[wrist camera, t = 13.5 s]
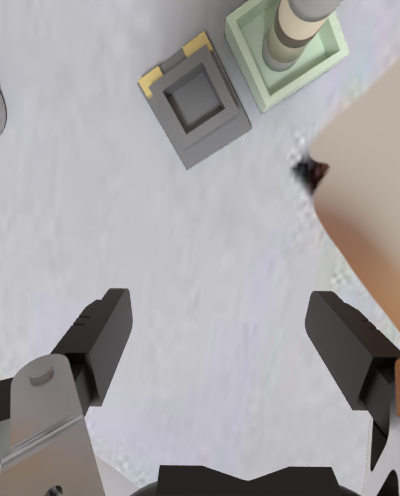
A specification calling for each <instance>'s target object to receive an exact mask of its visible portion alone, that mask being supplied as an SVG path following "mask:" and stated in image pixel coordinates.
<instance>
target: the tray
mask: <svg viewBox="0 0 400 496" xmlns="http://www.w3.org/2000/svg"><path fill="white" fill-rule="evenodd" d="M279 3H280V0H248V1H247V2H245V3H244V4H243V5H241V6H240V7H239V8H237V9H236V10H235V11H234V12H232V13H231V14H230V15H228V16H227V17H226V21H225V32H224V35H225V37H226V39H227V41H228V44H229V46H230V48H231V50H232V52H233V54H234V56H235V59H236V61H237V63H238V65H239V67H240V69H241V71H242V74H243V76H244V78H245V80H246V82H247V84H248V87H249V89H250V91H251V93H252V95H253V97H254V99H255V102H256V104H257V106H258V108H259V110H260V112H261V114H262V113H263V112H265V111H267V110H268V109H270V108H271V107H273V106H274V105H276V104H278V103H279V102H281V101H282V100H284V99H285V98H287V97H288V96H290V95H292V94H293V93H295V92H296V91H298V90H299V89H301V88H302V87H304V86H306V85H307V84H309V83H310V82H312V81H313V80H315V79H316V78H318V77H320V76H321V75H323V74H324V73H326V72H327V71H329V70H331V69H332V68H334V67H335V66H336V65H337V64H339V63H340V62H341V61H342V60H343V59H344V58H345V57H346V56H347V55H348V54H350V52H349V50H348V47H347V44H346V41H345V38H344V35H343V33H342V30H341V27H340V24H339V21H338V18H337V15H336V13H335V10H334V12H333V13H332V14H331V15H329V17H328V18H327V19H326V21H325V22H324V24H323V25H322V27H321V28H320V30H319V31H318V33H317V34H316V35H315V37H314V38H313V39H312V40H311V41H310V42H309V44H308V45H307V46H306V48H305V50H304V52H303V53H302V55H301V56H300V57H299V59H298V60H297V61H296V63H295V64H294V65H293V66H292V67H291V68H290V69H288V70H286V71H283V72H275V71H272V70H271V69H269V68H268V67H267V66H266V64H265V63H264V61H263V57H262V45H263V42H264V39H265V37H266V34H267V32H268V29H269V27H270V26H271V24H272V22H273V19H274V17H275V13H276V10H277V8H278V5H279Z"/></svg>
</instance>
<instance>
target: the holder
mask: <svg viewBox="0 0 400 496" xmlns="http://www.w3.org/2000/svg"><path fill="white" fill-rule="evenodd" d="M137 84H138V86H139V88H140V89H141V91H142V93H143V95H144V96H145V98H146V100H147V102H148V103H149V105H150V107H151V109H152V110H153V112H154V114H155V116H156V117H157V119H158V121H159V123H160V124H161V126H162V128H163V130H164V131H165V133H166V135H167V137H168V138H169V140H170V142H171V144H172V145H173V147H174V149H175V150H176V152H177V154H178V156H179V157H180V159H181V161H182V163H183V164H184V166H185V168H186V170H188V169H190V168H192V167H193V166H195V165H196V164H198V163H199V162H201V161H203V160H204V159H206V158H207V157H209V156H211V155H212V154H214V153H215V152H217V151H218V150H220V149H222V148H223V147H225V146H226V145H228V144H229V143H231V142H233V141H234V140H236V139H237V138H239V137H241V136H242V135H244V134H245V133H247V132H248V131H250V130H251V129H252V127H251V125H250V123H249V121H248V119H247V116H246V114H245V112H244V110H243V108H242V106H241V104H240V102H239V100H238V98H237V96H236V94H235V91H234V89H233V87H232V85H231V83H230V81H229V79H228V77H227V75H226V73H225V71H224V69H223V67H222V64H221V62H220V60H219V58H218V56H217V54H216V52H215V50H214V48H213V46H212V44H211V42H210V40H209V37H208V35H207V33H206V32H204V31H203V32H202V33H201V34H199V35H198V36H197V37H195V38H194V39H193V40H191V41H190V42H189V43H187V44H186V45H185V46H183V47H182V50H180V51H179V52H178V53H177V54H175V55H174V56H173V57H171V58H170V59H169V60H167V61H166V62H165V63H163V64H162V65H161V66H157V67H155V68H154V69H153V70H152V71H150V72H149V73H148V74H146V75H145V76H144V77H142V78H141V79H140V80H138V83H137Z"/></svg>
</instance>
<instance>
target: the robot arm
mask: <svg viewBox="0 0 400 496" xmlns="http://www.w3.org/2000/svg"><path fill="white" fill-rule="evenodd" d="M5 121H6V111H5V105H4V101H3V98H2V96H1V94H0V134H1V132H2V130H3V128H4V125H5ZM132 322H133V318H132V309H131V301H130V293H129V290H128V289H123V288H110V289H109V290H108V291H107V293H106V294H105V295H104V297H103V298H102V300H95V301H94V302H93V303H91V304H90V305H88V306H87V307H86V308H85V309H84V310H83V312H82V313H81V314H80V315H79V318H77V319H76V321H75V322H74V323H73V325H72V326H71V327H70V329H69V330H68V331H67V332H66V334H65V335H64V336H63V338H62V339H61V340H60V342H59V343H58V344H57V346H56V347H55V348H54V349H53V351H52V352H51V353H50V354H49V355H45V356H42V357H39V358H37V359H35V360H33V361H31V362H29V363H28V364H26V365H25V366H24V367H23V368H21V369H20V370H19V371H18V373H17V374H16V375H15V376H14V377H13V378H9V379H5V380H1V381H0V465H1V467H0V496H105V493H104V490H103V486H102V482H101V478H100V475H99V471H98V467H97V464H96V460H95V456H94V452H93V449H92V445H91V441H90V438H89V434H88V430H87V427H86V423H85V419H84V417H85V415H86V413H87V411H88V408H89V406H102V403H103V401H104V398H105V396H106V393H107V391H108V388H109V386H110V383H111V381H112V378H113V375H114V373H115V370H116V368H117V365H118V363H119V360H120V358H121V355H122V353H123V350H124V348H125V345H126V343H127V340H128V338H129V335H130V333H131V329H132ZM305 328H306V332H307V334H308V336H309V338H310V340H311V341H312V343H313V345H314V346H315V348H316V350H317V351H318V353H319V355H320V356H321V358H322V360H323V361H324V363H325V365H326V366H327V368H328V370H329V371H330V373H331V375H332V376H333V378H334V380H335V381H336V383H337V385H338V386H339V388H340V390H341V391H342V393H343V395H344V396H345V398H346V400H347V401H348V403H349V405H350V406H351V408H352V410H368V411H369V413H370V414H371V416H372V417H371V419H370V422H369V430H368V444H367V457H366V471H365V480H364V486H363V490H362V493H361V495H359V494H357V493H356V492H354V491H352V490H349V489H347V488H345V487H343V486H341V485H339V484H338V482H337V479H336V477H335V475H334V472H333V470H332V468H331V467H287V468H284V469H281V470H279V471H276V472H273V473H270V474H267V475H265V476H262V477H259V478H256V479H254V480H250V481H246V480H242V479H239V478H236V477H233V476H230V475H227V474H224V473H221V472H219V471H216V470H213V469H210V468H207V467H204V466H178V465H160V468H159V475H158V481H156V482H154V483H151V484H149V485H147V486H145V487H143V488H141V489H139V490H138V491H136V492H135V493H133V494H132V495H130V496H400V350H399V349H398V348H397V347H396V346H395V345H394V344H393V343H392V342H391V341H390V340H389V339H387V338H386V337H385V336H384V335H383V334H382V333H381V332H380V331H379V330H377V329H376V327H375V326H374V325H373V324H372V323H371V322H369V321H368V319H367V318H366V317H365V316H364V315H363V314H362V313H361V312H360V311H359V310H357V309H355V308H354V307H352V306H350V305H349V304H347V303H344V302H343V301H342V300H341V299H340V298H339V297H338V296H337V295H336V294H335V293H334V292H332V291H313V292H312V294H311V296H310V301H309V305H308V310H307V314H306V319H305Z"/></svg>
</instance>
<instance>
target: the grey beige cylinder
mask: <svg viewBox="0 0 400 496" xmlns="http://www.w3.org/2000/svg"><path fill="white" fill-rule="evenodd" d="M341 1H342V0H280V3H279V5H278V8H277V10H276V13H275V17H274V19H273V22H272V24H271V26H270V27H269V29H268V32H267V34H266V37H265V39H264V42H263V45H262V57H263V61H264V63H265V64H266V66H267V67H268V68H269V69H271V70H272V71H275V72H283V71H286V70H288V69H290V68H291V67H292V66H293V65H294V64H295V63H296V61H297V60H298V59H299V57H300V56H301V55H302V53H303V52H304V50H305V48H306V46H307V45H308V44H309V42H310V41H311V40H312V39H313V38H314V37H315V35H316V34H317V33H318V31H319V30H320V28H321V27H322V25H323V24H324V22H325V21H326V19H327V18H328V17H329V15H331V14H332V13H333V12H334V10H335V9H336V8H337V7H338V5H339V4H340V3H341Z"/></svg>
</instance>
